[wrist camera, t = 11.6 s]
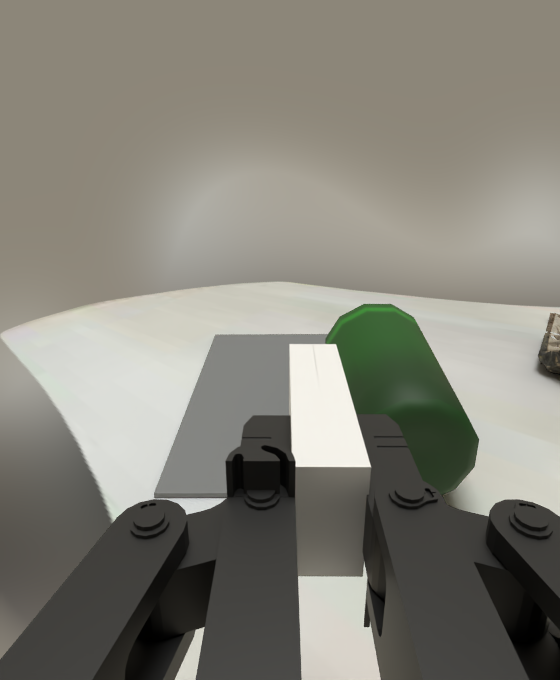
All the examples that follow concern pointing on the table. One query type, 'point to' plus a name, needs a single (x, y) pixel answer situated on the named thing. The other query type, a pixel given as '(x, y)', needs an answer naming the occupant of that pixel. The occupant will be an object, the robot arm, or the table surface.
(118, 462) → the table surface
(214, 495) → the mat
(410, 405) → the bottle
